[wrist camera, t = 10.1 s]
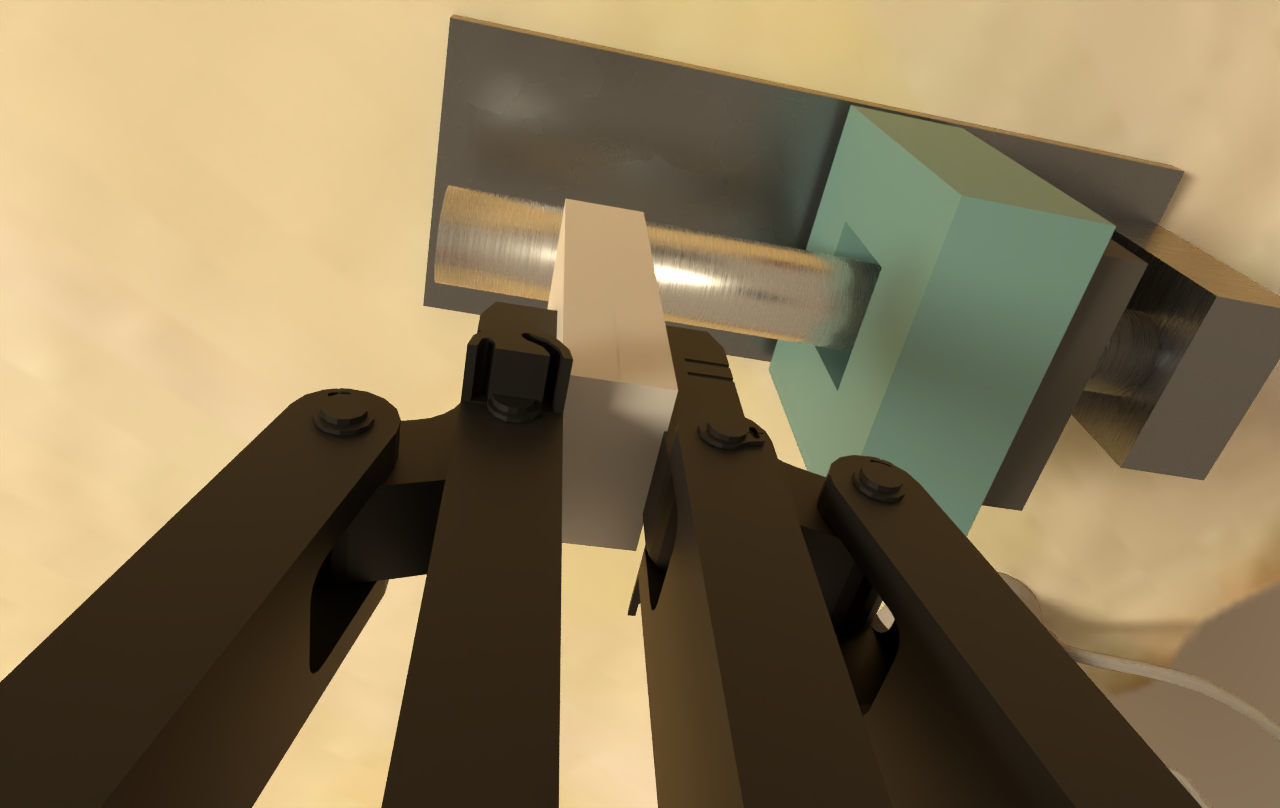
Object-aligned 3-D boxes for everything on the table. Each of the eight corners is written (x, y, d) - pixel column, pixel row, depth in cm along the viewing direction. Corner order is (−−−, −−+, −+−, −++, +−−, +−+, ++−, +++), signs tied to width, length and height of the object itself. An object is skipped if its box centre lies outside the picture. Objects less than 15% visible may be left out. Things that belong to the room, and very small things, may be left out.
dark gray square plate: (882, 374, 33) (959, 502, 27) (962, 165, 30) (1077, 250, 23) (932, 382, 34) (1021, 510, 27) (1018, 176, 30) (1148, 264, 23)
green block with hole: (768, 369, 34) (830, 532, 26) (850, 104, 29) (961, 195, 21) (866, 385, 35) (960, 549, 26) (963, 128, 30) (1116, 225, 21)
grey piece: (426, 296, 34) (381, 415, 26) (453, 14, 29) (407, 59, 21) (1055, 399, 37) (1173, 528, 30) (1171, 165, 33) (1347, 249, 25)
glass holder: (841, 609, 43) (953, 923, 30) (1137, 500, 40) (1399, 789, 27) (892, 720, 47) (1011, 1037, 34) (1164, 626, 45) (1402, 930, 32)
